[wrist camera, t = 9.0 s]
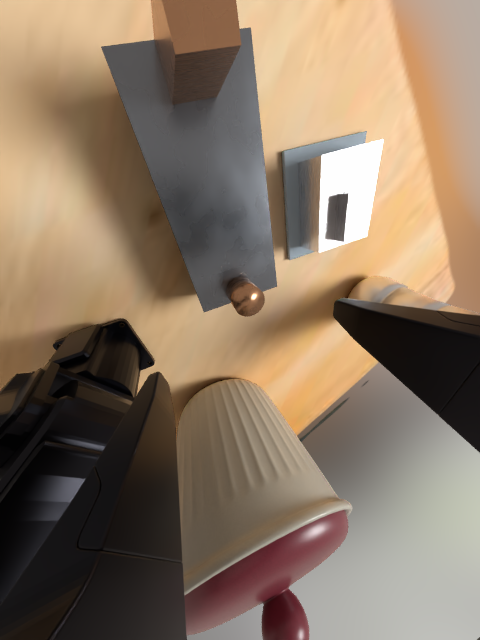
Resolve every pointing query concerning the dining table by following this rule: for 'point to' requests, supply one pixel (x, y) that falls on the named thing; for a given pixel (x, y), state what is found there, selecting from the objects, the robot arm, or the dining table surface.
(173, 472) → the robot arm
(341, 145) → the rubber pad
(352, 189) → the lever cap
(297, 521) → the canister
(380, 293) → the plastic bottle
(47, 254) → the dining table surface
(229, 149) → the body
